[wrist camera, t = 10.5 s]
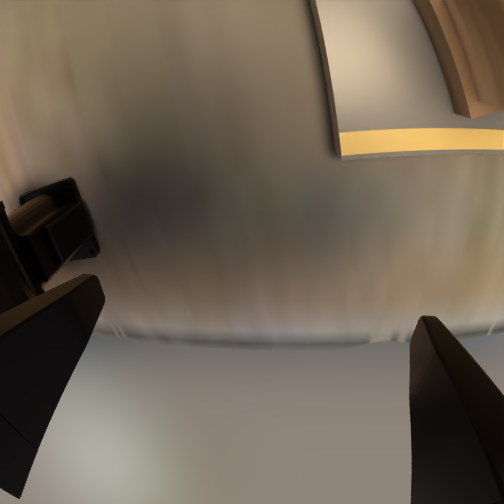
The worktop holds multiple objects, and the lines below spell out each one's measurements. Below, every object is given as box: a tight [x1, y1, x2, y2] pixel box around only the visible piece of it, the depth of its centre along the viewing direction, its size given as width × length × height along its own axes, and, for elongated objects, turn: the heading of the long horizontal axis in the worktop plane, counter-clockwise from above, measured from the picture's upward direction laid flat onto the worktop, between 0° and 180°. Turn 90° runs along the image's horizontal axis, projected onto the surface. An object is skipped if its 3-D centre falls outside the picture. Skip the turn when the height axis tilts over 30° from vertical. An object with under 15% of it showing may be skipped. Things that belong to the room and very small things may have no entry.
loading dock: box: [309, 0, 504, 161], centre depth 12 cm, size 18×13×3 cm
